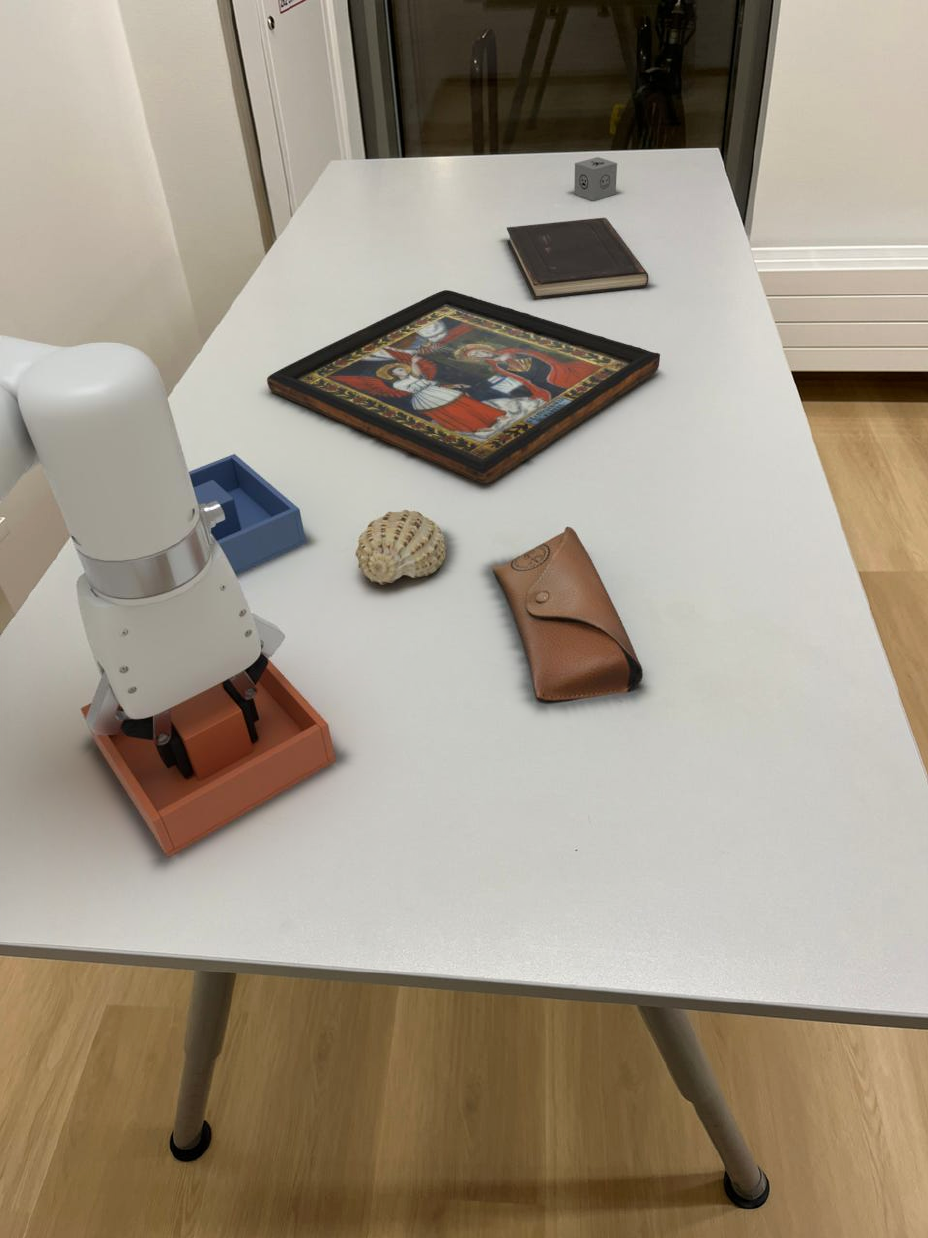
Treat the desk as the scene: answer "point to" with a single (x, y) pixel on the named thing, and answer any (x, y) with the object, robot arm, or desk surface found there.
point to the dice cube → (595, 178)
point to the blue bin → (253, 514)
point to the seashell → (400, 547)
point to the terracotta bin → (198, 808)
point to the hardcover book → (574, 258)
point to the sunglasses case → (568, 622)
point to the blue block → (216, 493)
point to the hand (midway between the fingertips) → (213, 746)
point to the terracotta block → (211, 731)
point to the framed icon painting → (465, 381)
